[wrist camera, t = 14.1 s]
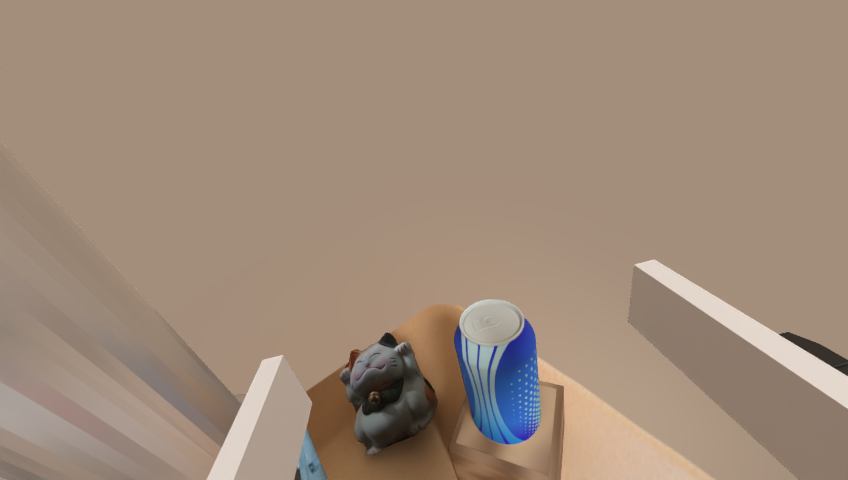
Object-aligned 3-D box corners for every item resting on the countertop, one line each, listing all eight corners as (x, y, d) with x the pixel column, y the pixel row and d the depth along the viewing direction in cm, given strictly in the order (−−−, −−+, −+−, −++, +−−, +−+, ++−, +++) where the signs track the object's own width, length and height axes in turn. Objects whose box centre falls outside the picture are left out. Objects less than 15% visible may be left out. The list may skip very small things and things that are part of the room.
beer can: (486, 377, 43) (469, 288, 36) (548, 398, 39) (542, 300, 32) (462, 433, 37) (436, 338, 30) (532, 465, 33) (520, 363, 26)
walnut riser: (459, 481, 40) (447, 446, 36) (483, 400, 49) (475, 365, 45) (557, 523, 34) (556, 486, 31) (564, 422, 43) (563, 384, 40)
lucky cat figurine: (347, 465, 45) (307, 380, 45) (377, 412, 56) (346, 345, 57) (435, 440, 41) (391, 347, 41) (449, 389, 53) (415, 317, 53)
